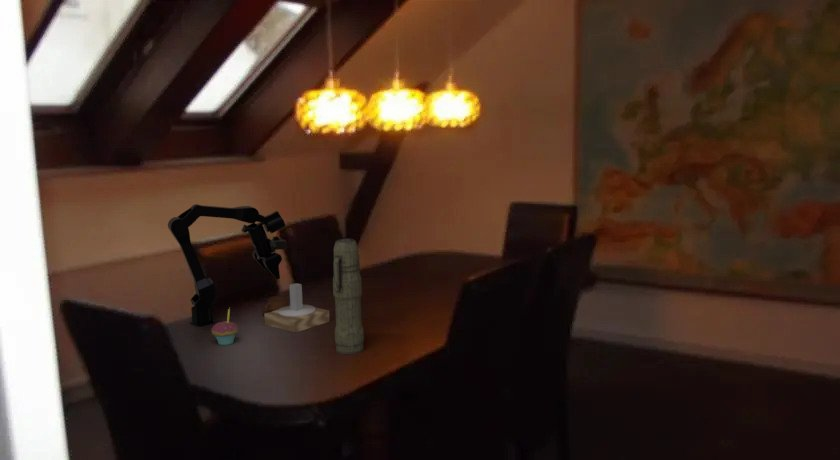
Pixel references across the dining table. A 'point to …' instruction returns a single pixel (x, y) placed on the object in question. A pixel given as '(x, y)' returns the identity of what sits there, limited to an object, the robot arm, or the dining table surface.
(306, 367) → the dining table surface
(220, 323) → the cupcake
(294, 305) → the white peg stand
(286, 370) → the dining table surface
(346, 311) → the thermos
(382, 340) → the dining table surface
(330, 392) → the dining table surface
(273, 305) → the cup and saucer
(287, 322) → the trivet
